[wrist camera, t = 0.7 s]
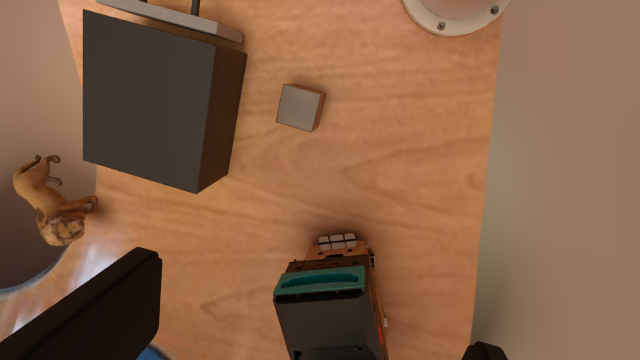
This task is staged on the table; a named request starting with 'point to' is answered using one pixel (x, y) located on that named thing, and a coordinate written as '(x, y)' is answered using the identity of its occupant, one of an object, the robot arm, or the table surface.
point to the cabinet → (158, 102)
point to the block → (300, 107)
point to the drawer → (176, 17)
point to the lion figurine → (51, 203)
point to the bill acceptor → (332, 303)
